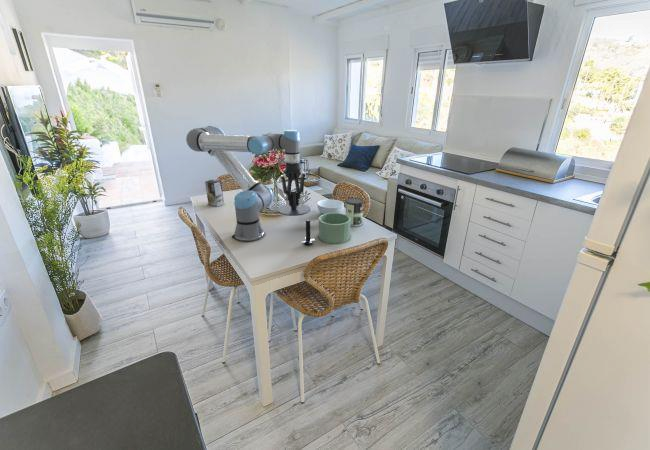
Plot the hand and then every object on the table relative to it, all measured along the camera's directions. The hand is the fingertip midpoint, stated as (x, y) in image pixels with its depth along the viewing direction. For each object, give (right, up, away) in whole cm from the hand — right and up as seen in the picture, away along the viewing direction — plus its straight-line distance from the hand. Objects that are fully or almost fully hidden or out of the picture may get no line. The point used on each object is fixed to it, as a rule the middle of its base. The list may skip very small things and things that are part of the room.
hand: (294, 205), depth 168 cm
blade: (+8, -20, -8) cm, 23 cm away
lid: (0, -2, +1) cm, 3 cm away
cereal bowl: (+20, -3, +32) cm, 38 cm away
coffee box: (-58, +4, +46) cm, 74 cm away
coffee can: (+34, -9, +18) cm, 39 cm away
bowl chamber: (+22, -17, +1) cm, 27 cm away
